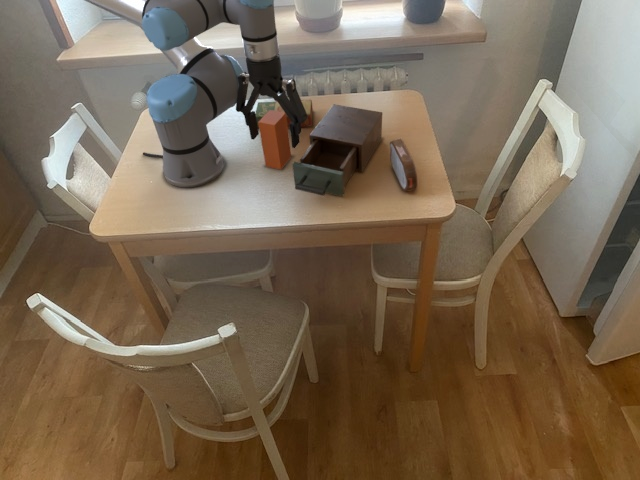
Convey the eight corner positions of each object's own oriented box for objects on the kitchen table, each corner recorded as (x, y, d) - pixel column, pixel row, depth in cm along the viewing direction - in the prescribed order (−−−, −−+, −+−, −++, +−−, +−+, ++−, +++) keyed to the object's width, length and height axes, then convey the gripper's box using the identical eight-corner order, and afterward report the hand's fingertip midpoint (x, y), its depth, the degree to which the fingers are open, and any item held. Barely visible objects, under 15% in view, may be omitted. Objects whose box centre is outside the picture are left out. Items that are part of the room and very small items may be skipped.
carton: (311, 127, 134) (310, 113, 131) (255, 129, 135) (253, 116, 132) (312, 111, 140) (311, 98, 137) (259, 114, 141) (256, 101, 138)
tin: (417, 197, 110) (420, 167, 104) (403, 199, 110) (406, 169, 104) (399, 159, 120) (400, 131, 114) (386, 161, 120) (388, 133, 114)
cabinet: (361, 172, 118) (361, 145, 112) (311, 161, 122) (309, 135, 116) (381, 139, 128) (382, 112, 122) (334, 130, 132) (333, 104, 126)
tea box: (281, 169, 121) (274, 125, 111) (265, 166, 122) (257, 122, 113) (291, 156, 124) (285, 112, 115) (276, 153, 126) (269, 109, 117)
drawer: (334, 209, 107) (333, 187, 103) (286, 197, 111) (283, 176, 107) (363, 161, 119) (363, 140, 115) (318, 152, 123) (317, 131, 119)
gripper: (208, 55, 105) (227, 140, 120) (303, 69, 97) (311, 157, 113) (225, 42, 109) (242, 125, 125) (318, 54, 102) (323, 141, 117)
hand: (275, 140), depth 119 cm, fingers open, 11 cm apart
